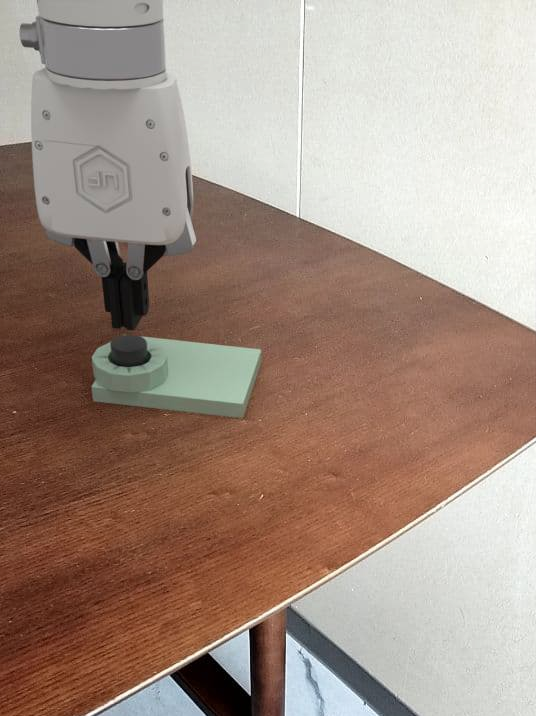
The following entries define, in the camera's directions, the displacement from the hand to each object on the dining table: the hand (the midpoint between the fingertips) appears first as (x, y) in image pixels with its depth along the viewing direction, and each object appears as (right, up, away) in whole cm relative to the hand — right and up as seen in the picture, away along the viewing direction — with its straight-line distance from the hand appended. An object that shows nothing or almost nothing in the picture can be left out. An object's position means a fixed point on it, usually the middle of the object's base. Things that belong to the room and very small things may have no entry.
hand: (128, 321), depth 66 cm
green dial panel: (+3, -4, +5) cm, 7 cm away
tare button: (0, -3, +2) cm, 3 cm away
